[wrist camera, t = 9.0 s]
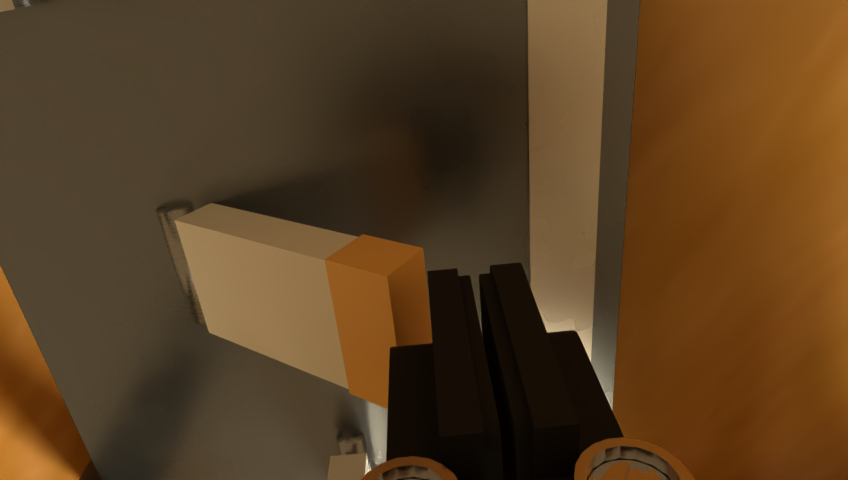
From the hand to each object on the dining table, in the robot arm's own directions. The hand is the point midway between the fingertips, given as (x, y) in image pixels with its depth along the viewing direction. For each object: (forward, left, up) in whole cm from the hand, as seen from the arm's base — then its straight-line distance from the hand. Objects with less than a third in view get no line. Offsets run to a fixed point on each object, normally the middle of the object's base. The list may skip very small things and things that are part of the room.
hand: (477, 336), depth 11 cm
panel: (+4, 0, -6) cm, 7 cm away
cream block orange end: (+7, 0, -4) cm, 8 cm away
